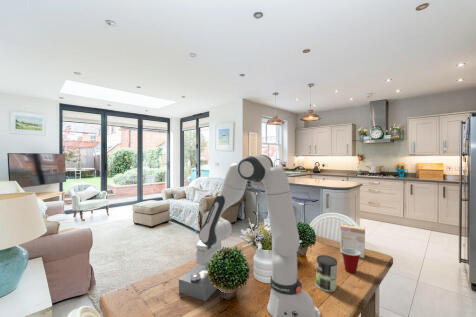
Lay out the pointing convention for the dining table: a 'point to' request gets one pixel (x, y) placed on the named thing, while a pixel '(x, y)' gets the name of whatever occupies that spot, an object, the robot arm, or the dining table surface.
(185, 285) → the filter housing
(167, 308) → the dining table surface
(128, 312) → the dining table surface
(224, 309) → the dining table surface
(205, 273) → the cartridge
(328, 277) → the coffee can
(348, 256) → the plastic cup
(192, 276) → the plunger
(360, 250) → the coffeecake box
